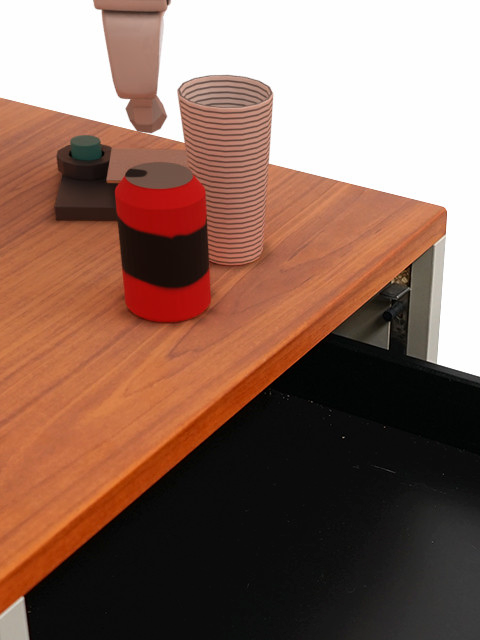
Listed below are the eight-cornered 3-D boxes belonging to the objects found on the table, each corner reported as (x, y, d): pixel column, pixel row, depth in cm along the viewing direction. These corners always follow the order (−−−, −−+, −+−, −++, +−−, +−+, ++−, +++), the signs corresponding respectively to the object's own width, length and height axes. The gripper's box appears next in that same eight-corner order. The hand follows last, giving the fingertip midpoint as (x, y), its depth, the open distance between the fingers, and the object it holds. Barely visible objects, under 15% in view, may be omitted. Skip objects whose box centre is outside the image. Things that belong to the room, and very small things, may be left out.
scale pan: (106, 183, 137) (106, 179, 137) (111, 151, 143) (111, 148, 143) (189, 184, 138) (188, 180, 138) (190, 153, 144) (190, 149, 144)
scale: (51, 220, 137) (47, 191, 135) (62, 169, 146) (59, 141, 144) (200, 221, 139) (199, 192, 137) (202, 171, 148) (200, 144, 146)
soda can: (134, 281, 128) (123, 154, 120) (217, 287, 128) (211, 161, 120) (117, 321, 122) (104, 190, 114) (204, 326, 122) (196, 196, 115)
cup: (174, 240, 135) (164, 79, 125) (257, 228, 138) (253, 70, 128) (203, 278, 129) (195, 112, 119) (289, 264, 133) (287, 102, 123)
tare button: (70, 162, 141) (68, 145, 140) (73, 151, 143) (71, 134, 142) (100, 163, 142) (99, 146, 141) (102, 151, 144) (101, 135, 143)
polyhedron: (159, 138, 136) (157, 105, 134) (122, 133, 137) (119, 100, 135) (172, 124, 139) (170, 91, 137) (136, 119, 140) (133, 87, 138)
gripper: (106, -68, 136) (119, 75, 144) (90, -5, 120) (105, 151, 129) (172, -65, 137) (180, 77, 145) (165, -2, 121) (175, 152, 130)
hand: (145, 112), depth 137 cm, fingers closed on polyhedron, 4 cm apart
